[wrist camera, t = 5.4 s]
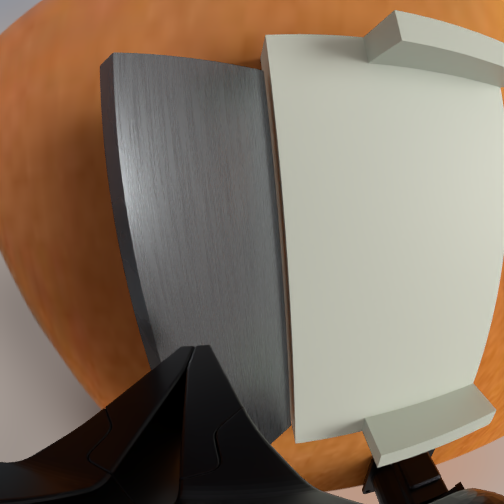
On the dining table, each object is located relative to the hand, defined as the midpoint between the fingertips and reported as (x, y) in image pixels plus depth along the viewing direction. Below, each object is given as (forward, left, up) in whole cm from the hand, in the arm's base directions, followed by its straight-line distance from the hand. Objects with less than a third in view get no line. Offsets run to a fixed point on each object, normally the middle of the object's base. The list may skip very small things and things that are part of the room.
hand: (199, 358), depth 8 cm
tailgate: (0, -3, -4) cm, 5 cm away
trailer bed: (0, -9, -7) cm, 12 cm away
